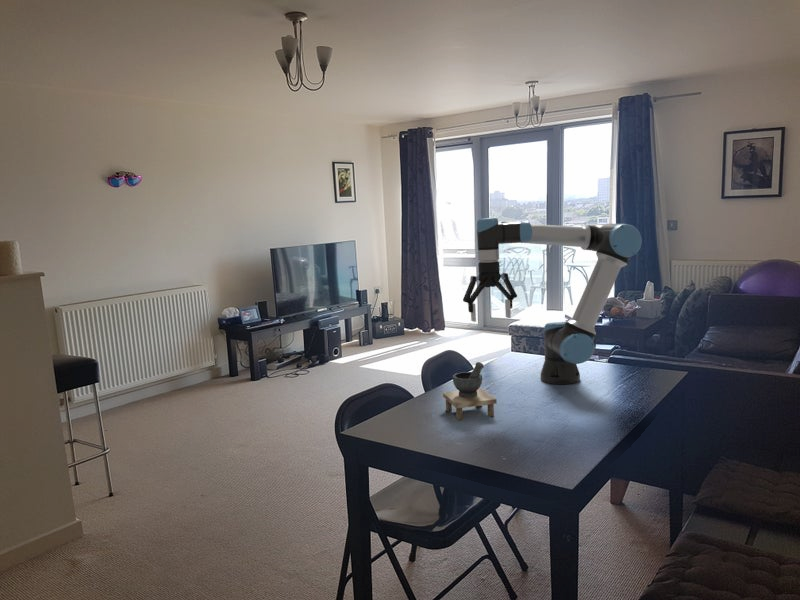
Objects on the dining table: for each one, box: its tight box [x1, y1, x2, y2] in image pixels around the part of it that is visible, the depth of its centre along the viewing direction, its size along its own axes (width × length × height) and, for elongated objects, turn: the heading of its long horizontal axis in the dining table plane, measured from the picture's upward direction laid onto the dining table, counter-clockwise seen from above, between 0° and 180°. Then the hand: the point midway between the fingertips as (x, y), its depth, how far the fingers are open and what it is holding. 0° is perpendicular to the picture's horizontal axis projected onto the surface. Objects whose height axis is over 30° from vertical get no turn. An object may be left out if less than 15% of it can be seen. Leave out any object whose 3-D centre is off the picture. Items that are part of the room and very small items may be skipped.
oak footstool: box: [442, 387, 498, 422], centre depth 202 cm, size 14×14×6 cm
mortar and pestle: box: [452, 361, 485, 398], centre depth 200 cm, size 11×9×12 cm
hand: (491, 319), depth 217 cm, fingers open, 13 cm apart
